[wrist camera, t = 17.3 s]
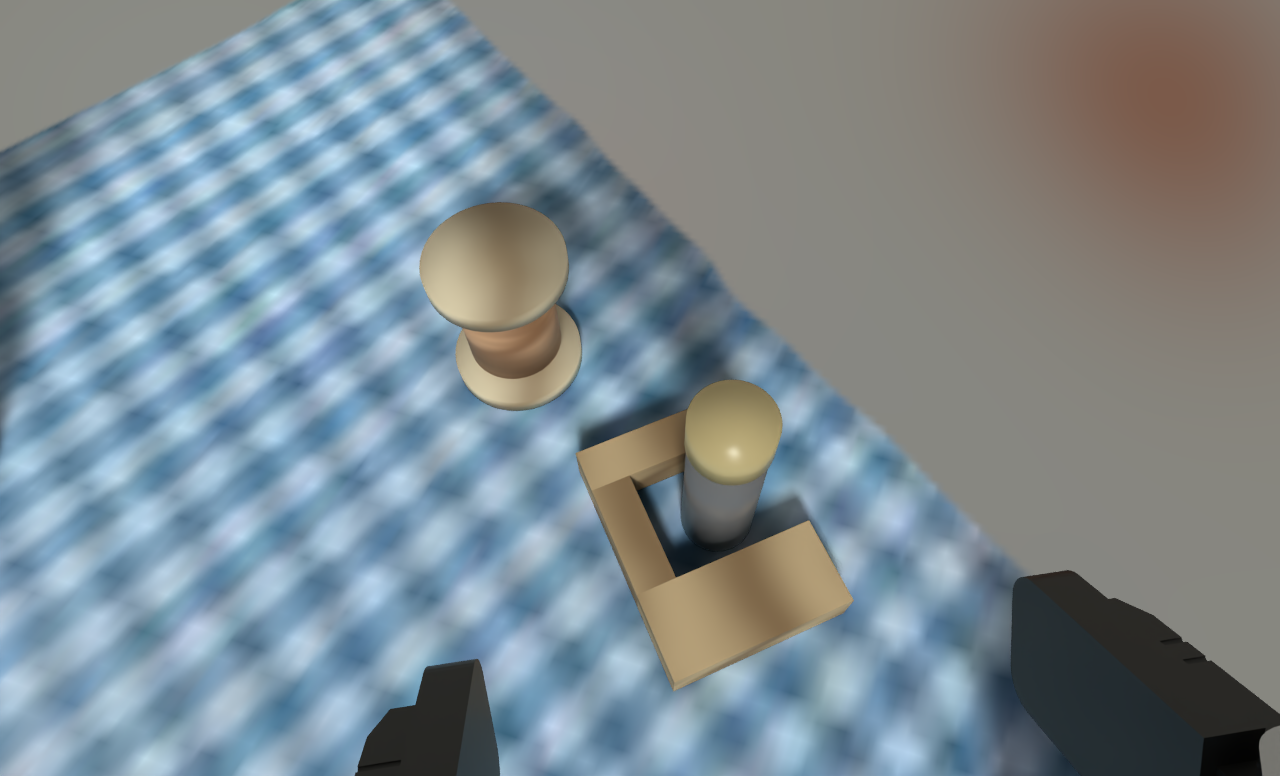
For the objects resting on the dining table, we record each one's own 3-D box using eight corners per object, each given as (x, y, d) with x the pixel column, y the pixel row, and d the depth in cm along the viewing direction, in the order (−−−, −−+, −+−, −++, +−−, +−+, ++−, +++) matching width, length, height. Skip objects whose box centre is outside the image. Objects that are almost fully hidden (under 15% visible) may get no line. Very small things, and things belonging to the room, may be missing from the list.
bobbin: (481, 429, 45) (443, 341, 37) (444, 330, 48) (402, 229, 40) (600, 383, 46) (588, 289, 38) (556, 290, 49) (537, 185, 41)
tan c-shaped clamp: (673, 691, 38) (674, 682, 36) (579, 471, 43) (575, 453, 41) (843, 613, 40) (853, 600, 37) (732, 410, 45) (736, 389, 43)
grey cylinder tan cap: (698, 564, 41) (711, 480, 31) (667, 499, 43) (670, 399, 33) (766, 535, 42) (799, 444, 32) (732, 471, 43) (754, 366, 34)
